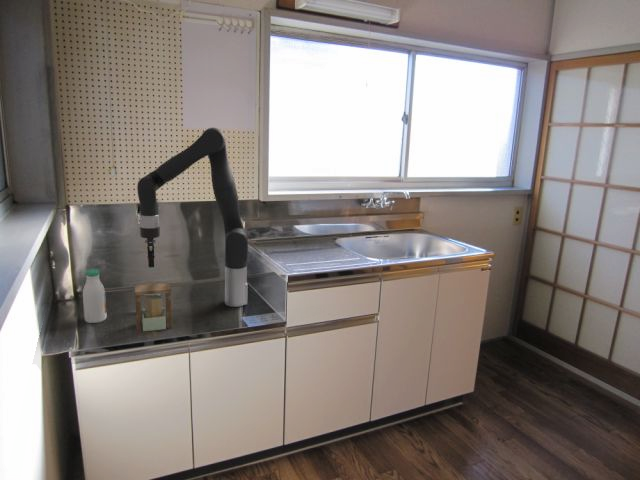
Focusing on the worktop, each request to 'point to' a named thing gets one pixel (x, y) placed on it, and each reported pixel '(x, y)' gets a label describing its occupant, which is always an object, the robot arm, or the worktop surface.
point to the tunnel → (153, 290)
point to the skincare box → (153, 306)
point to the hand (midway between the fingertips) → (151, 265)
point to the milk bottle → (94, 298)
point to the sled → (154, 321)
